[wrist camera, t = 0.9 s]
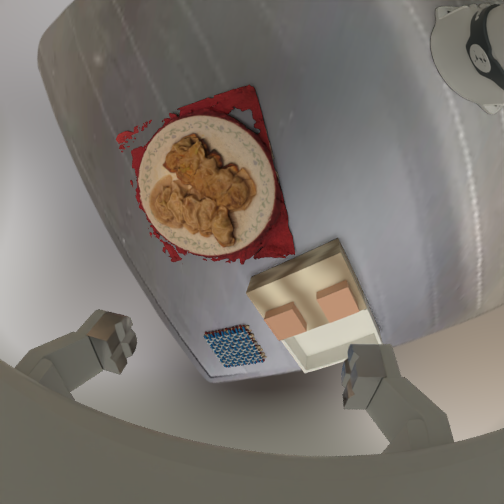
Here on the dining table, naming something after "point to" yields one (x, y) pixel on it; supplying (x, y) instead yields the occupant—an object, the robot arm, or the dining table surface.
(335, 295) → the terracotta tile
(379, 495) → the robot arm
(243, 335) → the woven mat
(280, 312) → the terracotta tile
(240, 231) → the plate with food
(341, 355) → the box
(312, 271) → the wooden box sleeve
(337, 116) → the dining table surface
